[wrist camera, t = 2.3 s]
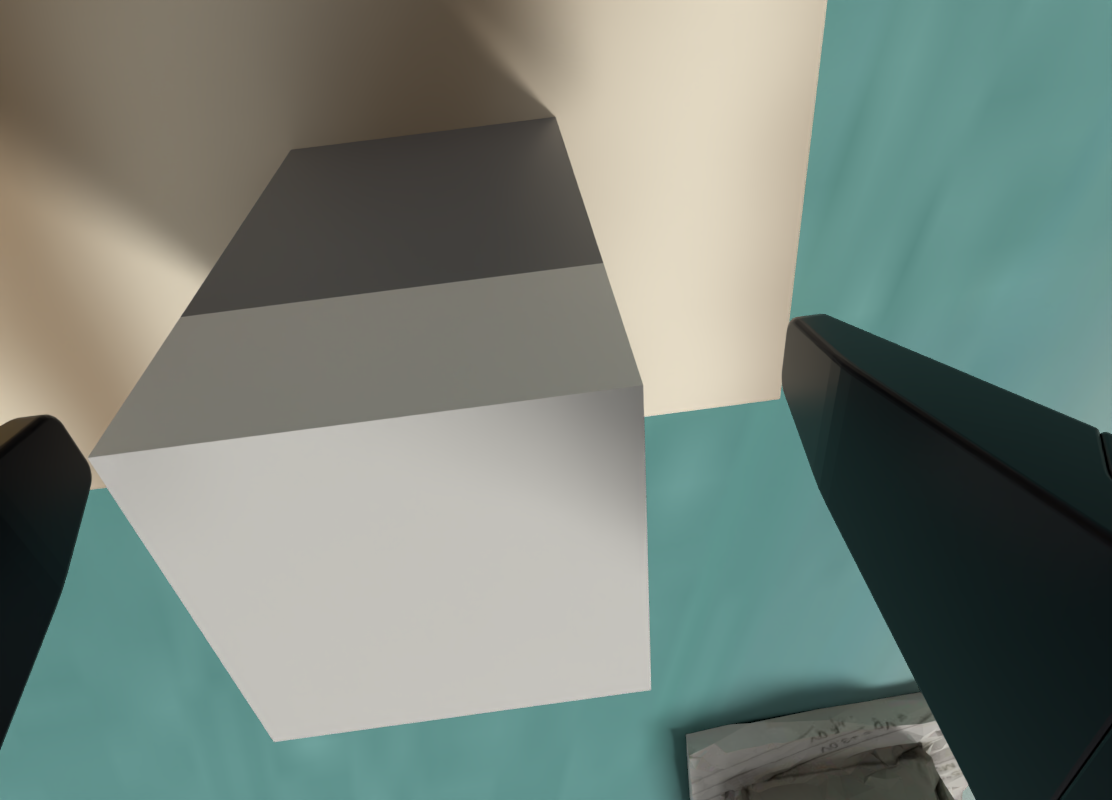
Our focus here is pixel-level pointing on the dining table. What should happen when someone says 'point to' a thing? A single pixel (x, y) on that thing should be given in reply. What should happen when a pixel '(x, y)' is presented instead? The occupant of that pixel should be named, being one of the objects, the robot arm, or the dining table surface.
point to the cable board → (382, 112)
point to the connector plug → (401, 441)
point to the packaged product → (828, 756)
